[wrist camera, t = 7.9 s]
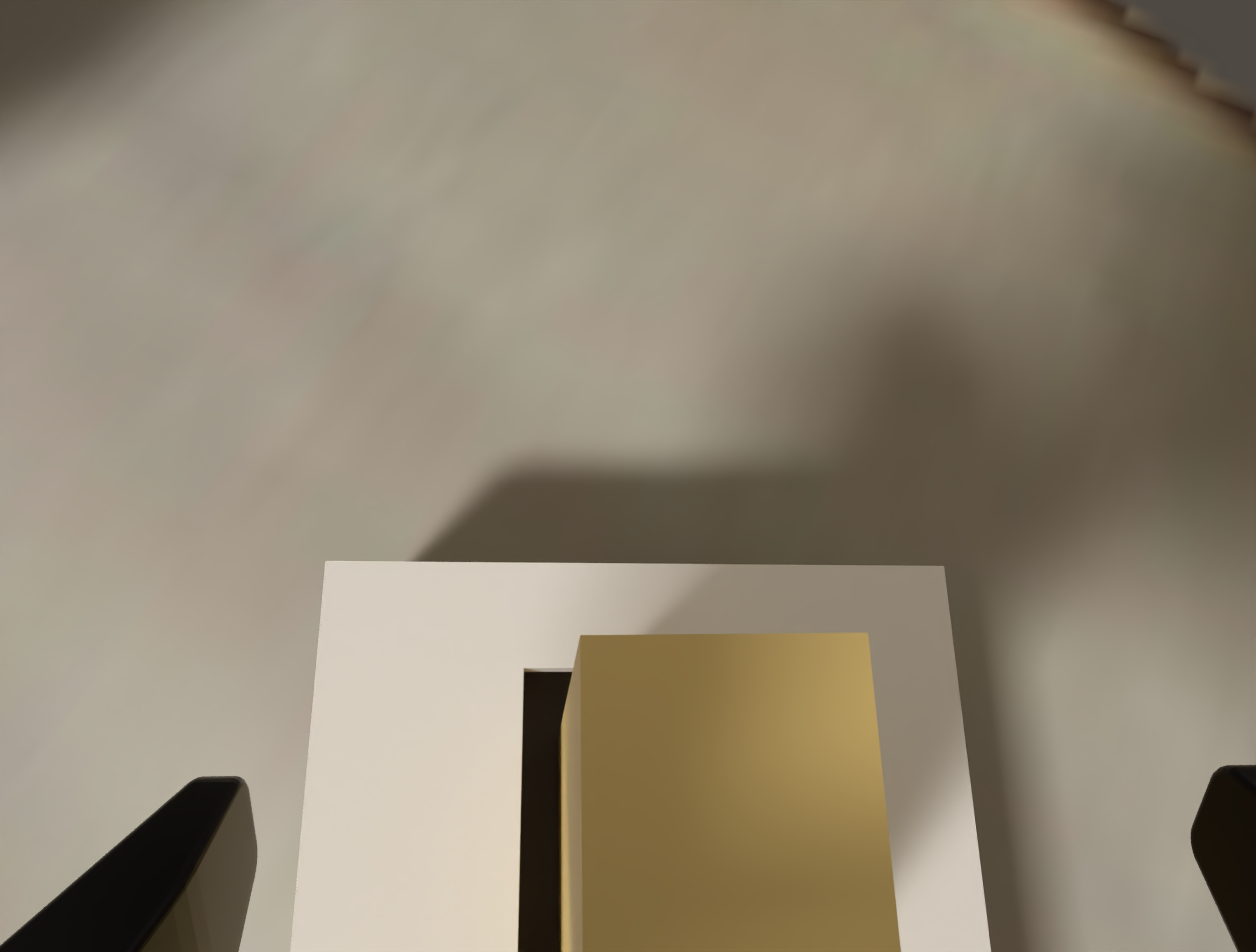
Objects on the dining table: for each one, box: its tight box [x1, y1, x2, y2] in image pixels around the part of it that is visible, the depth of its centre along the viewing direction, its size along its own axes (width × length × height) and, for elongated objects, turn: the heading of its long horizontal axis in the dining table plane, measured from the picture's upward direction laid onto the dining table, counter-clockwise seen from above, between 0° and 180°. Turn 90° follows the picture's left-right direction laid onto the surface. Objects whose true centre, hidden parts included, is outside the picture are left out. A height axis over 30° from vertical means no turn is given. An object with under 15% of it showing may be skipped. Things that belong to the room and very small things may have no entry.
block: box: [558, 633, 901, 952], centre depth 15 cm, size 6×3×12 cm, turn 1°
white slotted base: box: [290, 561, 991, 952], centre depth 19 cm, size 12×12×4 cm
